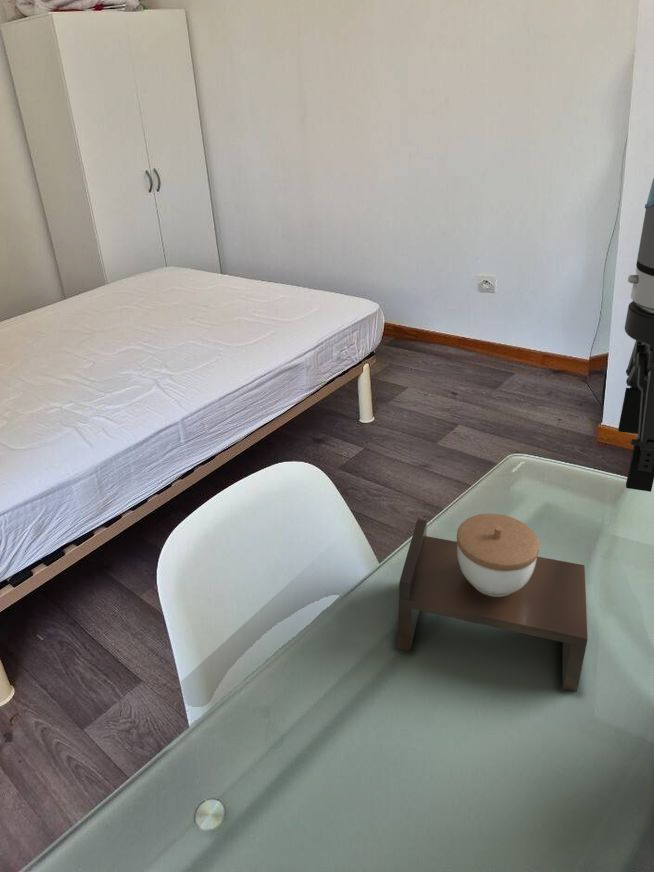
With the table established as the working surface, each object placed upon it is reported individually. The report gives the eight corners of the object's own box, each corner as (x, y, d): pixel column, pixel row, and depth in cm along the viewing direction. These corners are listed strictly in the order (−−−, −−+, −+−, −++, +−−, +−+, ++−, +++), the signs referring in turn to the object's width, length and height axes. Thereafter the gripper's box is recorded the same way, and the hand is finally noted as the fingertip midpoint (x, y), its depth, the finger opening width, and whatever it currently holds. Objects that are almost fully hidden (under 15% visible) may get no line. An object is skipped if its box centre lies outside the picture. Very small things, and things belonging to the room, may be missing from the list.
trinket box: (548, 601, 93) (557, 547, 88) (474, 616, 91) (479, 561, 87) (509, 549, 102) (515, 498, 98) (441, 562, 100) (445, 510, 96)
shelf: (575, 616, 103) (587, 548, 97) (576, 693, 91) (591, 621, 85) (414, 583, 111) (417, 518, 105) (397, 649, 99) (399, 581, 93)
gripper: (621, 269, 91) (597, 408, 101) (639, 344, 70) (607, 511, 80) (685, 272, 89) (654, 415, 98) (723, 351, 68) (679, 522, 77)
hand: (633, 458), depth 89 cm, fingers open, 13 cm apart
